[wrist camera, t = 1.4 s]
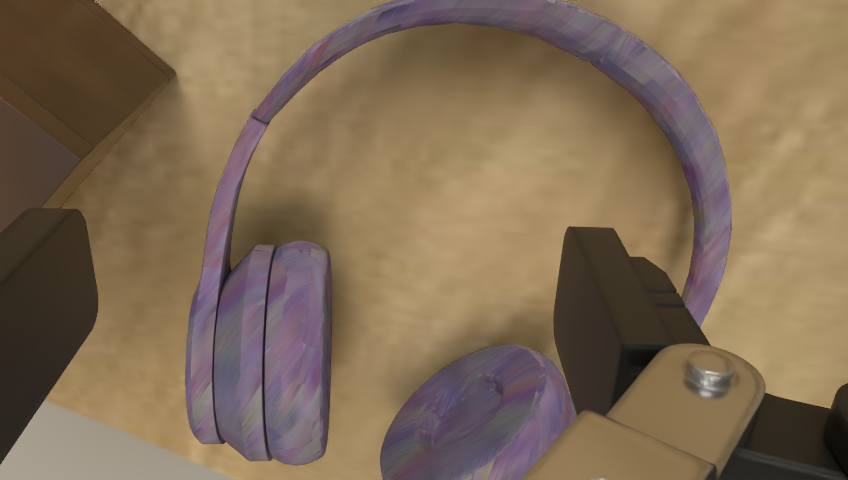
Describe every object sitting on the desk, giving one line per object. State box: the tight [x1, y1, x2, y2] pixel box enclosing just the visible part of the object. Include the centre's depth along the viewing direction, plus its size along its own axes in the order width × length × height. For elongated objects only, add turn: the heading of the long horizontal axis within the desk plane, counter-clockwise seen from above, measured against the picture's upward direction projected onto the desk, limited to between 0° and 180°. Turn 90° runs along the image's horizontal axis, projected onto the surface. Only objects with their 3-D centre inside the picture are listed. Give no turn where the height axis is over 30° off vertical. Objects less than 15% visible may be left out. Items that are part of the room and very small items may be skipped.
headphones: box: [185, 0, 732, 480], centre depth 28 cm, size 18×8×20 cm
